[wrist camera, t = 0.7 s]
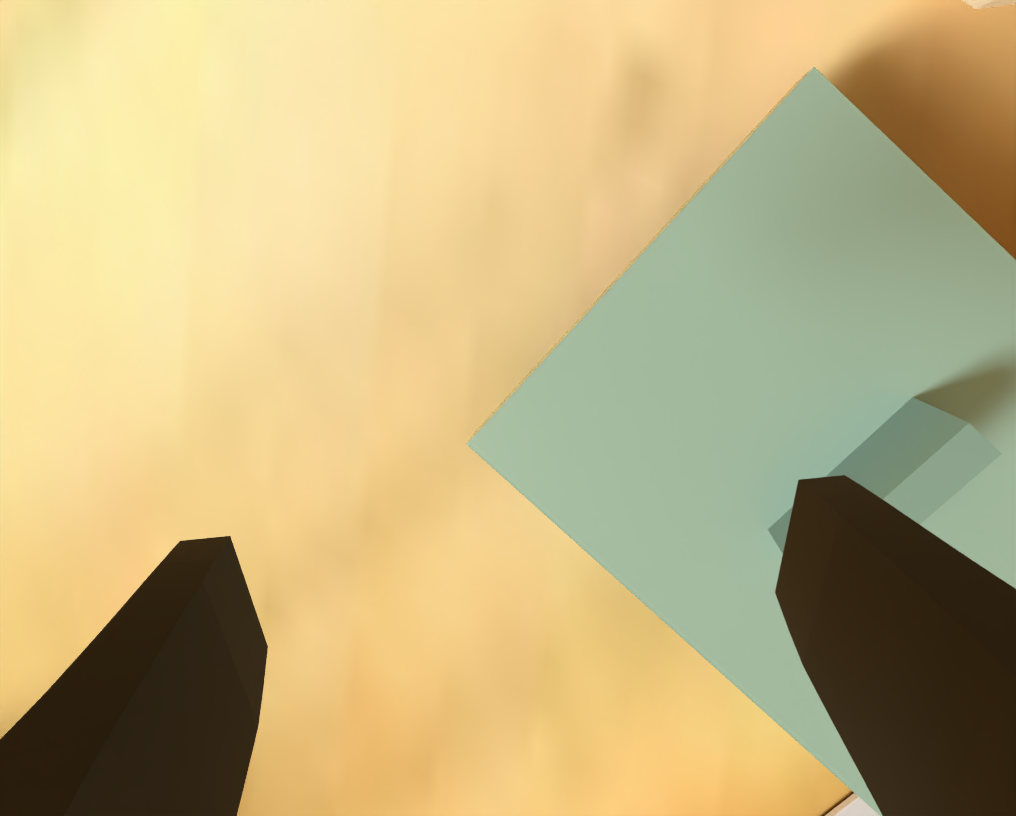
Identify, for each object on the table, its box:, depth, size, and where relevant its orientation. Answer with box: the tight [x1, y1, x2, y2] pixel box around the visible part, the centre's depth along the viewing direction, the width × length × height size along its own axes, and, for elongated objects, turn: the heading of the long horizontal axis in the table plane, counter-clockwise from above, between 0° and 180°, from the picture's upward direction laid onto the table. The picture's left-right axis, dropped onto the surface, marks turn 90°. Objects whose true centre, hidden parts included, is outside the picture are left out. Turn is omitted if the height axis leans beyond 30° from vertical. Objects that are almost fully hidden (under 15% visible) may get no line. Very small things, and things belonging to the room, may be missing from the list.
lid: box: [467, 67, 1016, 816], centre depth 23 cm, size 19×15×5 cm
